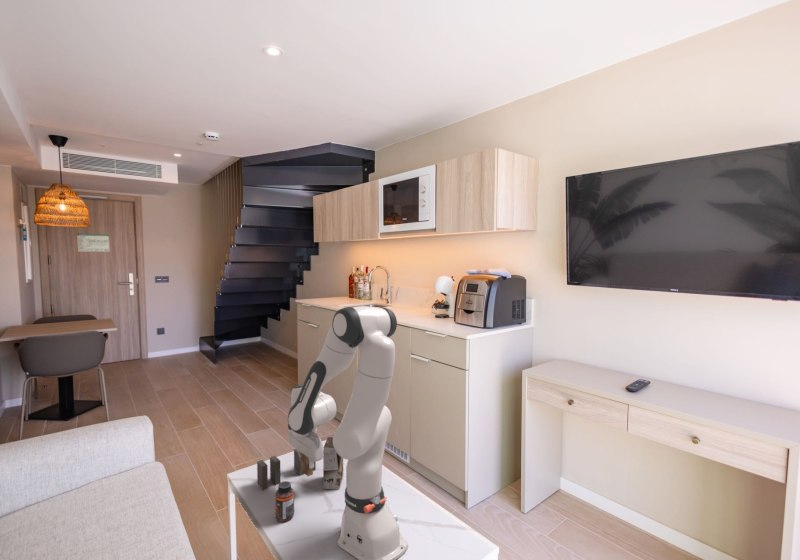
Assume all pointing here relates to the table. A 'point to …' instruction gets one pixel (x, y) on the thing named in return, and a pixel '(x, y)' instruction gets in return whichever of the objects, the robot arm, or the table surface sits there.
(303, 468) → the domino
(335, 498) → the table surface
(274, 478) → the domino
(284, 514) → the supplement bottle
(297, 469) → the domino
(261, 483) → the domino
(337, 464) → the coffee box
